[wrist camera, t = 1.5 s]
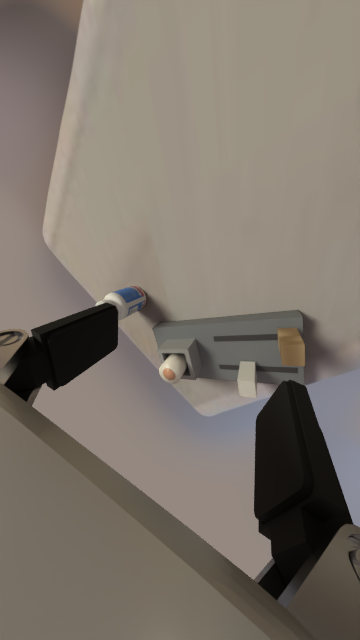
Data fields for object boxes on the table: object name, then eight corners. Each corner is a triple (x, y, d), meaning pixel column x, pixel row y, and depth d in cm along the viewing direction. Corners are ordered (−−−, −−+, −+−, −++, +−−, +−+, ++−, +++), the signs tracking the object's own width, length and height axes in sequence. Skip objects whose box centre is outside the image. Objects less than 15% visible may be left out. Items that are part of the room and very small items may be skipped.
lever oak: (296, 327, 24) (304, 344, 19) (297, 345, 24) (305, 366, 20) (277, 328, 25) (280, 345, 20) (278, 346, 26) (282, 365, 21)
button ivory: (185, 351, 30) (176, 365, 27) (190, 370, 31) (182, 385, 28) (167, 351, 32) (156, 364, 28) (172, 368, 33) (162, 382, 30)
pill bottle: (124, 286, 38) (87, 297, 29) (143, 284, 35) (109, 295, 27) (131, 309, 39) (97, 325, 31) (149, 308, 37) (118, 325, 29)
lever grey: (255, 361, 28) (254, 381, 24) (256, 376, 29) (256, 398, 25) (240, 361, 29) (237, 380, 25) (242, 375, 30) (239, 395, 26)
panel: (298, 309, 25) (310, 328, 20) (300, 374, 29) (310, 406, 23) (159, 322, 37) (141, 336, 31) (172, 367, 41) (158, 387, 35)
